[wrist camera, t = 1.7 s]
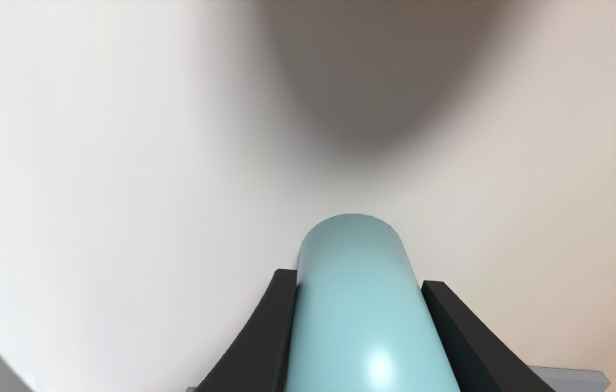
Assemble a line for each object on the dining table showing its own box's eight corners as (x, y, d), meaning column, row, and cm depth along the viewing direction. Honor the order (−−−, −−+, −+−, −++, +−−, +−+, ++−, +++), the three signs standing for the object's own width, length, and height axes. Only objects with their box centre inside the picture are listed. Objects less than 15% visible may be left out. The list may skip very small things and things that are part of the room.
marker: (414, 218, 11) (596, 569, 4) (392, 299, 13) (484, 638, 5) (302, 209, 11) (263, 541, 4) (297, 292, 13) (264, 619, 5)
